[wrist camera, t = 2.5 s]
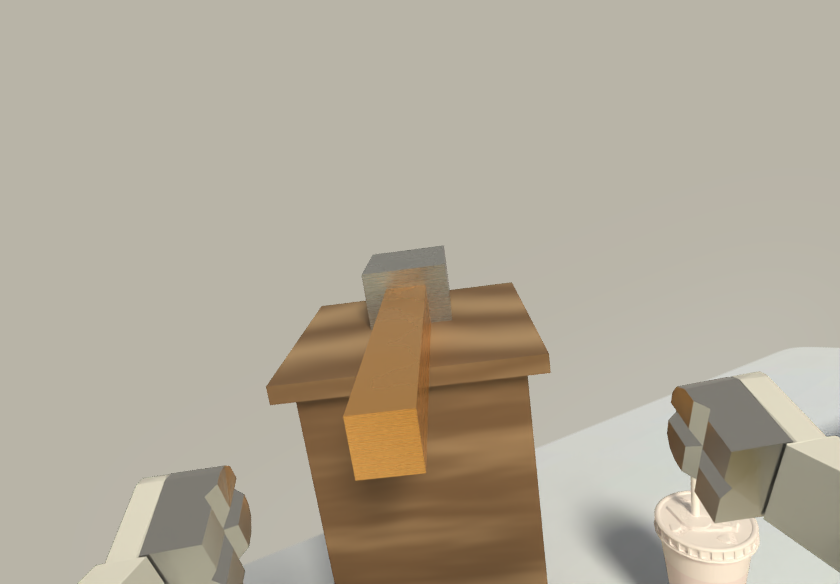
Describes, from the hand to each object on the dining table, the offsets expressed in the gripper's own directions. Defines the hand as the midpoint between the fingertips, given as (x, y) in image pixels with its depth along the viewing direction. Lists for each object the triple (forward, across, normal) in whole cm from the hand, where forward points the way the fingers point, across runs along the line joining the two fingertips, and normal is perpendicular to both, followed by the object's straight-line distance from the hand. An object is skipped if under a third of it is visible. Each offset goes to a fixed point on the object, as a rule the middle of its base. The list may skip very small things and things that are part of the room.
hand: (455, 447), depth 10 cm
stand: (+13, +1, +37) cm, 39 cm away
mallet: (+17, +1, +11) cm, 20 cm away
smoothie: (+12, -16, +37) cm, 42 cm away
